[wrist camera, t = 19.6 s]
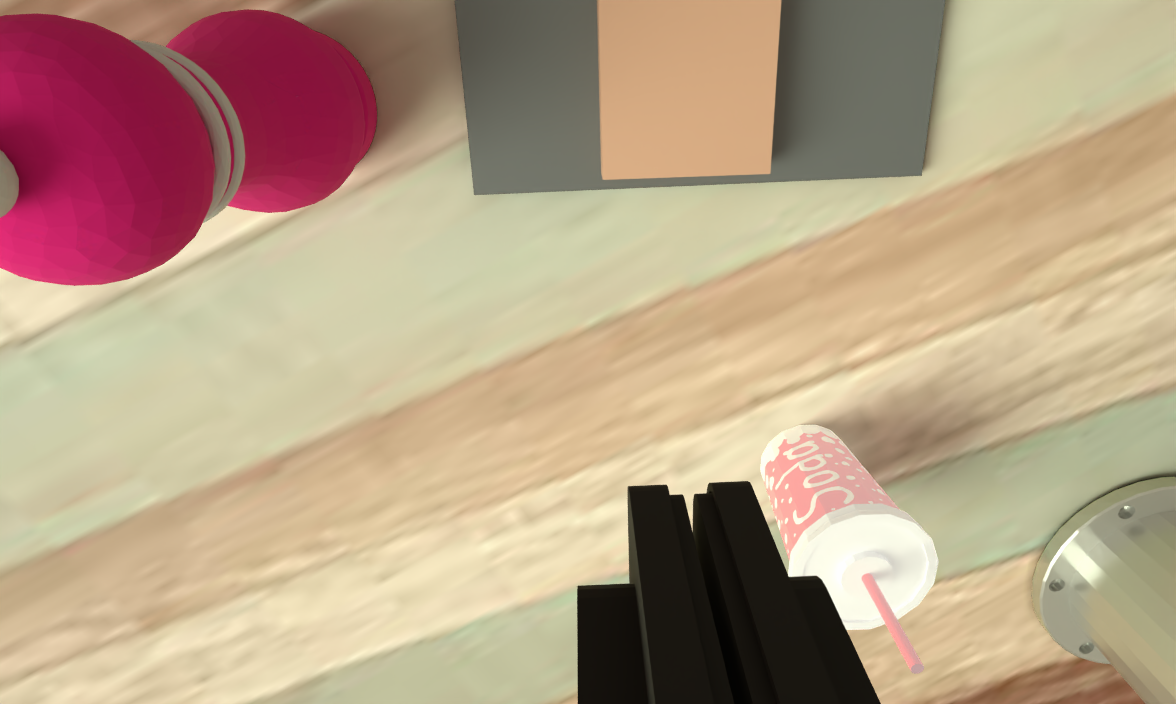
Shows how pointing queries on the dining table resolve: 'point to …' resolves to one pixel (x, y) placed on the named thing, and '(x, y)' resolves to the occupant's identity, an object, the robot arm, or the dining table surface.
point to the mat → (802, 100)
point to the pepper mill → (164, 136)
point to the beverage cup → (847, 532)
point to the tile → (687, 87)
